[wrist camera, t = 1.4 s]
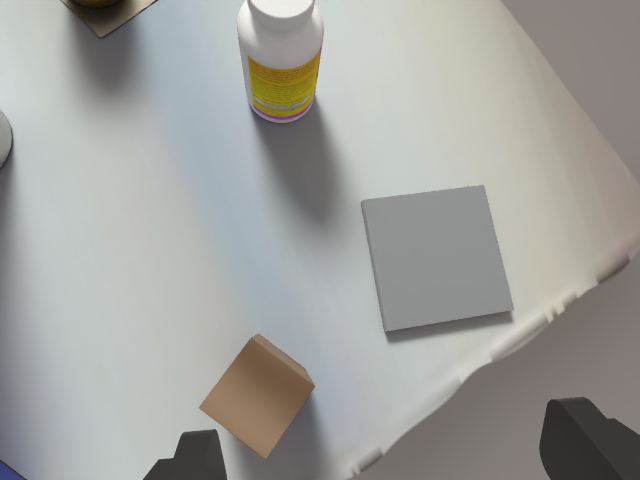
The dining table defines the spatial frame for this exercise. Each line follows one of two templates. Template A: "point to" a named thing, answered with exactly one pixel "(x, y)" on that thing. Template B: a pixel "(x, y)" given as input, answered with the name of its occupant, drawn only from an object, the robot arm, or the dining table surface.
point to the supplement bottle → (280, 56)
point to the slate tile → (435, 257)
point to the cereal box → (9, 473)
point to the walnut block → (259, 395)
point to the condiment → (106, 12)
